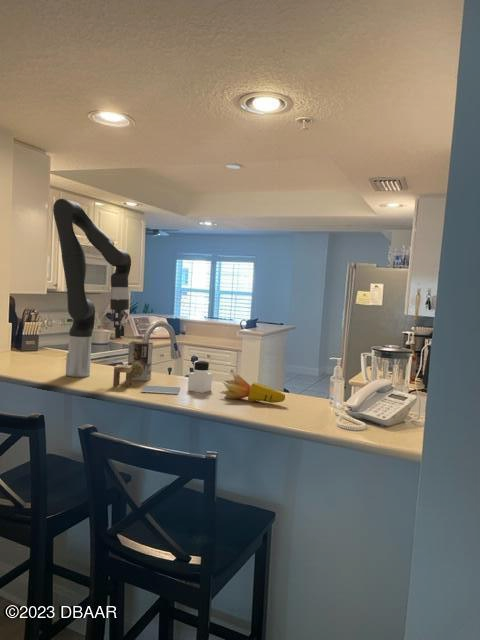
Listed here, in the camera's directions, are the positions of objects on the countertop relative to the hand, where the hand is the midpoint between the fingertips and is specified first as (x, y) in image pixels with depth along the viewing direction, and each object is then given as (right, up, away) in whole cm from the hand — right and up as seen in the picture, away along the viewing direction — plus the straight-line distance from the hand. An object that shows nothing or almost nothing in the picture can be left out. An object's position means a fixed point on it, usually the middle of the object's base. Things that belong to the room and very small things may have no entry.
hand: (119, 337), depth 189 cm
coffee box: (+6, -19, +9) cm, 22 cm away
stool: (+3, -19, -7) cm, 21 cm away
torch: (+55, -24, -18) cm, 62 cm away
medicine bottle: (+34, -22, -5) cm, 41 cm away
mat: (+19, -21, -10) cm, 30 cm away
